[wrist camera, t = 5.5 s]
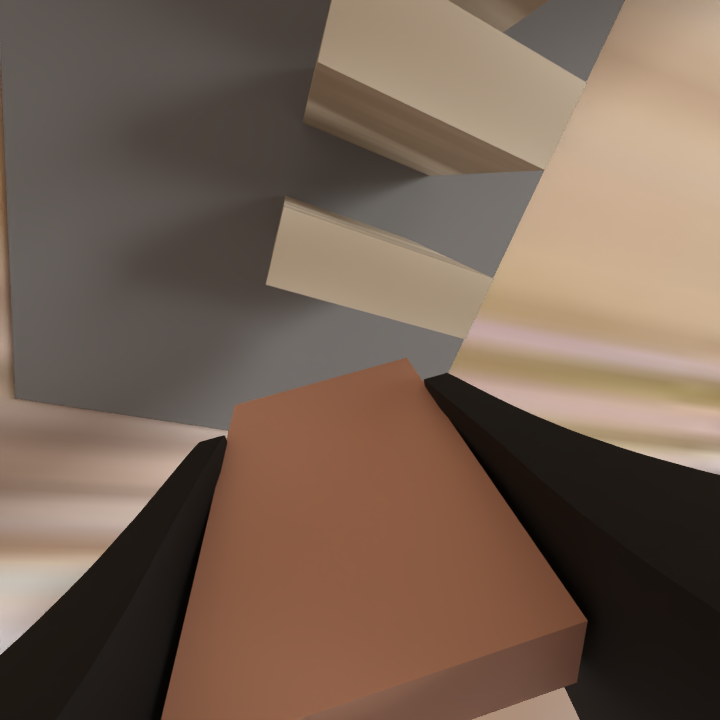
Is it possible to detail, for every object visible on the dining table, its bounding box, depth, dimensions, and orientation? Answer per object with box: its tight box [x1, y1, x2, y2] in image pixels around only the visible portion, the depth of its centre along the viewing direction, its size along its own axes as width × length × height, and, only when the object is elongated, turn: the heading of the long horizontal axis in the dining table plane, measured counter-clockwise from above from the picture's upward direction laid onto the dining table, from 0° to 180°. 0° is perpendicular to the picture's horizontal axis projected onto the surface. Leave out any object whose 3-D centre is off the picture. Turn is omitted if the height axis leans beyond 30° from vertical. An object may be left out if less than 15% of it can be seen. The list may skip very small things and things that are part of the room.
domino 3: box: [161, 358, 588, 720], centre depth 7 cm, size 2×5×7 cm, turn 102°
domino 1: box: [302, 0, 587, 176], centre depth 10 cm, size 2×5×7 cm, turn 71°
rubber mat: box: [0, 0, 625, 430], centre depth 12 cm, size 18×28×1 cm, turn 161°
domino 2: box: [266, 196, 494, 339], centre depth 11 cm, size 2×5×7 cm, turn 71°
